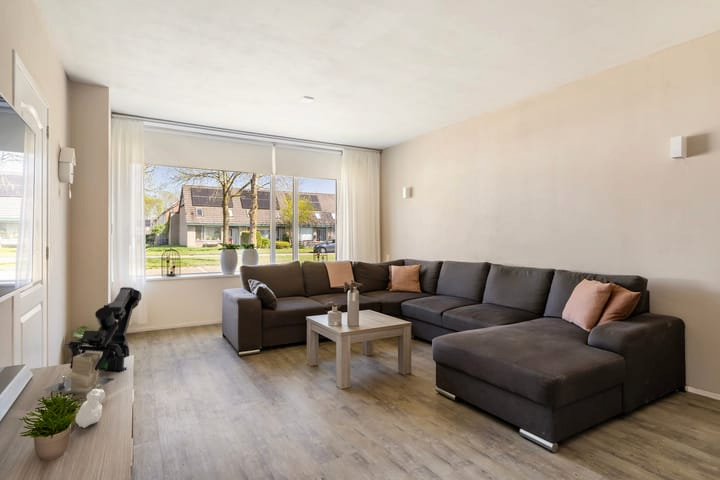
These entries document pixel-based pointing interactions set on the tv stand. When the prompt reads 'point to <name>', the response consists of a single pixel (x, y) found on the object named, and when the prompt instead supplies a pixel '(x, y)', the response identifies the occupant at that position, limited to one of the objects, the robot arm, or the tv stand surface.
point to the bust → (90, 408)
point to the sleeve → (84, 371)
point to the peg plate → (66, 385)
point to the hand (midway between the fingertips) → (83, 369)
